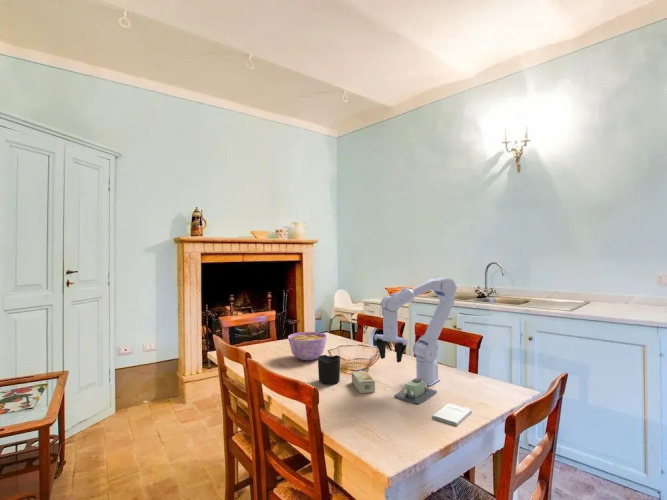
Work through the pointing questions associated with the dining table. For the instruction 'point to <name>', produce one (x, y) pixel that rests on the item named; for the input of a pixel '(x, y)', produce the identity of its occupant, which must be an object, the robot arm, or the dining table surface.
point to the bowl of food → (307, 344)
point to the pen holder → (329, 369)
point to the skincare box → (363, 382)
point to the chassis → (419, 398)
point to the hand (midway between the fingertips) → (390, 360)
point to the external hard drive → (452, 414)
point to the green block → (415, 387)
